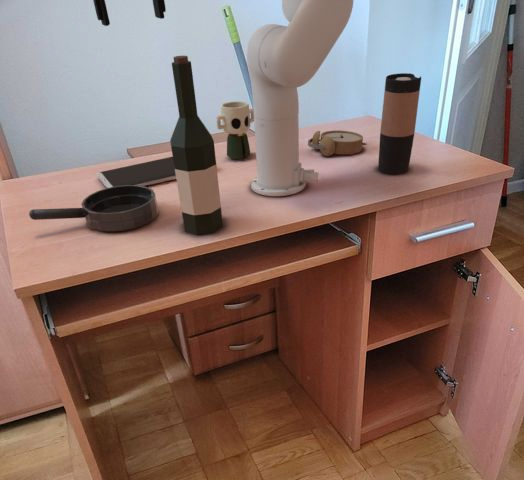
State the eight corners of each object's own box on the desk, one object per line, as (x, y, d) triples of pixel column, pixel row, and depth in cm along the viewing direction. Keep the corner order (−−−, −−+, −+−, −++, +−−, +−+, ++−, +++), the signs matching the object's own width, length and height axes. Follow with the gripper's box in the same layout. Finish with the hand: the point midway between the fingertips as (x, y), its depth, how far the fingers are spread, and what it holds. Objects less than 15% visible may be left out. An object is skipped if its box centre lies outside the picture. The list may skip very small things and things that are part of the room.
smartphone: (216, 171, 126) (215, 164, 125) (111, 195, 117) (109, 188, 116) (196, 157, 135) (195, 150, 134) (97, 178, 126) (96, 172, 125)
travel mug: (373, 173, 119) (382, 80, 106) (380, 163, 124) (389, 72, 112) (406, 176, 116) (419, 81, 104) (411, 165, 122) (424, 73, 109)
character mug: (227, 165, 129) (222, 111, 121) (214, 158, 134) (208, 105, 125) (263, 156, 133) (260, 103, 125) (249, 149, 138) (246, 98, 130)
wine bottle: (217, 236, 97) (197, 61, 79) (177, 234, 99) (147, 62, 80) (228, 218, 104) (211, 51, 85) (190, 216, 105) (165, 53, 86)
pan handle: (87, 214, 104) (82, 198, 102) (89, 218, 103) (84, 201, 101) (33, 225, 101) (27, 209, 99) (34, 229, 100) (27, 212, 98)
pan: (149, 198, 114) (146, 180, 112) (166, 223, 103) (162, 203, 101) (83, 212, 110) (77, 193, 107) (92, 239, 99) (86, 219, 97)
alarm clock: (372, 140, 129) (319, 138, 124) (367, 159, 132) (316, 158, 127) (352, 129, 137) (302, 126, 133) (348, 148, 140) (299, 146, 135)
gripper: (53, -114, 70) (88, 30, 81) (169, -118, 76) (187, 16, 87) (45, -108, 76) (79, 26, 86) (154, -113, 81) (173, 14, 92)
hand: (133, 21), depth 86 cm, fingers open, 9 cm apart
